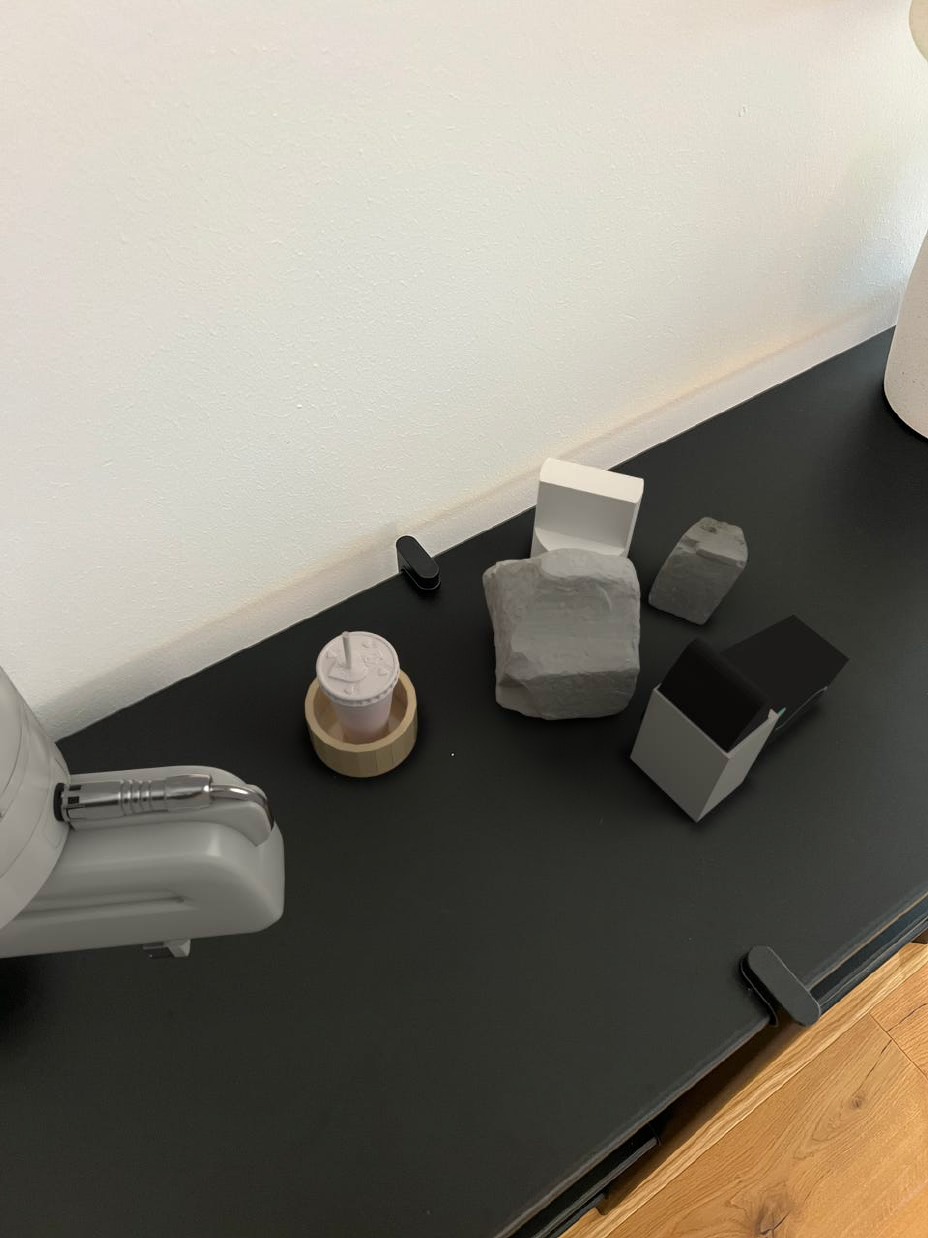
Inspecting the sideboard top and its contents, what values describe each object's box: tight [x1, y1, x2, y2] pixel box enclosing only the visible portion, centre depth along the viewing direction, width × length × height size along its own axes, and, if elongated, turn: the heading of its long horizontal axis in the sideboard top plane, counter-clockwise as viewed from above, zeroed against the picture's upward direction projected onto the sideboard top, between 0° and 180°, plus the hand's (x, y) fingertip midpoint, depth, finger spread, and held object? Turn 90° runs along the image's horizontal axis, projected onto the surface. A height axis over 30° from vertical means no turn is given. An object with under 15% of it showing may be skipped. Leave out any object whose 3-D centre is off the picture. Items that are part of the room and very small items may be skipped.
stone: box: [481, 548, 641, 721], centre depth 79 cm, size 12×12×15 cm
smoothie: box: [315, 631, 401, 745], centre depth 75 cm, size 6×6×14 cm
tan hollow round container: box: [304, 668, 418, 778], centre depth 79 cm, size 9×9×4 cm
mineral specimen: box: [647, 516, 749, 625], centre depth 87 cm, size 7×9×8 cm
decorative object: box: [629, 614, 850, 823], centre depth 76 cm, size 8×18×15 cm, turn 130°
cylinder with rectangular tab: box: [529, 457, 645, 559], centre depth 87 cm, size 9×9×12 cm
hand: (56, 950), depth 39 cm, fingers open, 8 cm apart
